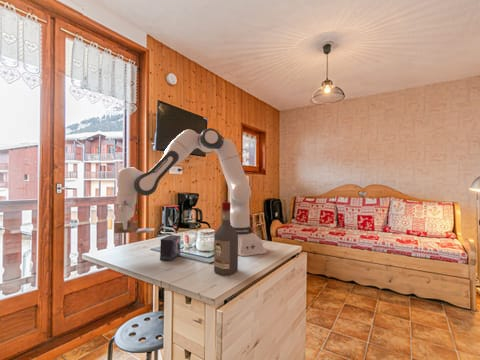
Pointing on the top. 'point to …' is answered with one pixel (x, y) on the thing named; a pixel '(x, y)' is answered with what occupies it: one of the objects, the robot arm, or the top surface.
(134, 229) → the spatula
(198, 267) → the top surface
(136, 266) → the top surface
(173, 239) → the small box
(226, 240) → the liquor
